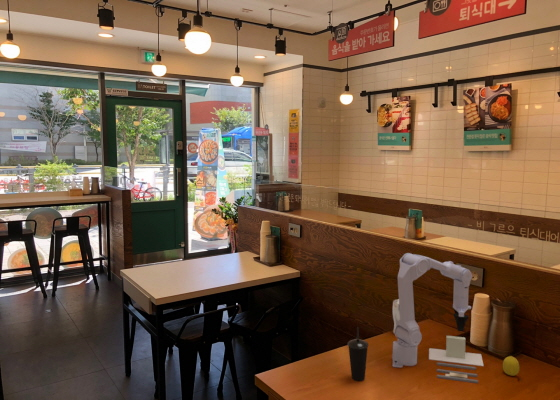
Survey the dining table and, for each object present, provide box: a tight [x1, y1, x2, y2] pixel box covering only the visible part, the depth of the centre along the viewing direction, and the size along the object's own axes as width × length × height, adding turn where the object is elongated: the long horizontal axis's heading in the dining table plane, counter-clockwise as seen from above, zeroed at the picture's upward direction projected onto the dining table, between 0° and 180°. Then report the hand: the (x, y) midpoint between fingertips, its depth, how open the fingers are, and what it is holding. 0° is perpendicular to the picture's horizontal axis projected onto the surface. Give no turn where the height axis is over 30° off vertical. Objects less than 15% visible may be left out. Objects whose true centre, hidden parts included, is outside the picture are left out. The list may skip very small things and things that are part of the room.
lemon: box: [502, 355, 520, 377], centre depth 169 cm, size 6×6×8 cm
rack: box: [436, 361, 479, 384], centre depth 170 cm, size 14×12×2 cm
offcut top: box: [450, 372, 469, 379], centre depth 167 cm, size 6×2×1 cm, turn 71°
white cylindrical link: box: [392, 298, 400, 335], centre depth 209 cm, size 7×7×15 cm
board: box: [428, 348, 484, 367], centre depth 183 cm, size 20×10×2 cm, turn 71°
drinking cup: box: [347, 326, 369, 382], centre depth 169 cm, size 8×8×20 cm
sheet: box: [445, 335, 466, 359], centre depth 182 cm, size 7×2×8 cm, turn 71°
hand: (460, 327), depth 189 cm, fingers open, 7 cm apart
